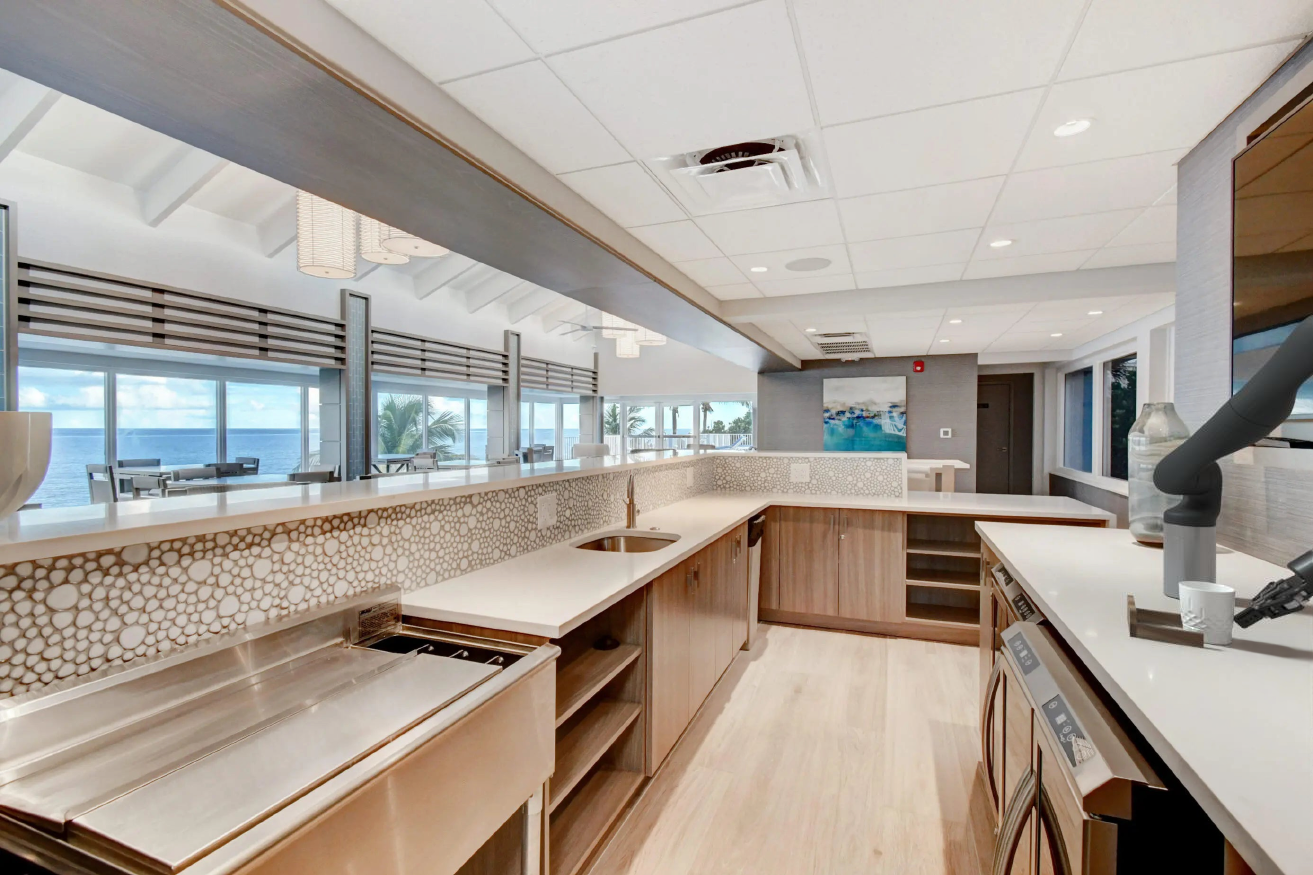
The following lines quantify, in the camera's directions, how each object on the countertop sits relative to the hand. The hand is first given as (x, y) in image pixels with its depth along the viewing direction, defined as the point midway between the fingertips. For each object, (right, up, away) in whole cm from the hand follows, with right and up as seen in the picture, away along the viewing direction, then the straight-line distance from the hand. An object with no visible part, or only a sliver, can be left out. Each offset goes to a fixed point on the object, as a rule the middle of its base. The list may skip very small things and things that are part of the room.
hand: (1237, 623), depth 109 cm
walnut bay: (-8, -4, +6) cm, 11 cm away
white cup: (-3, -4, +3) cm, 6 cm away
